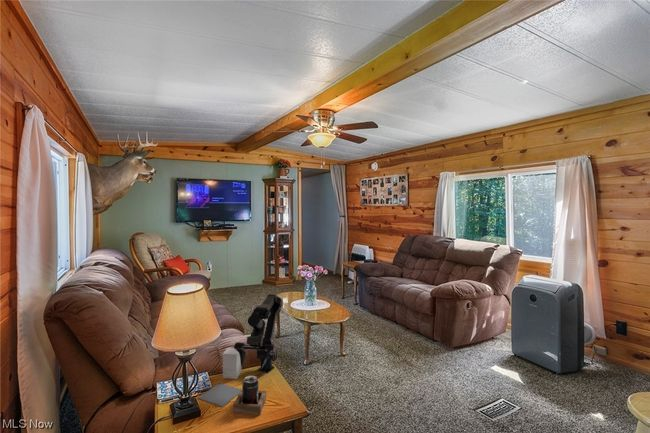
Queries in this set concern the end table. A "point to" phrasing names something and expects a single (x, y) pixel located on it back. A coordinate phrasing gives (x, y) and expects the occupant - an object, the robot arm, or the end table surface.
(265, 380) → the end table surface
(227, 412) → the end table surface
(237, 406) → the pocket frame
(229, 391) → the slate mat
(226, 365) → the supplement box
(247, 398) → the beverage can
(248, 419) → the end table surface
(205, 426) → the end table surface
